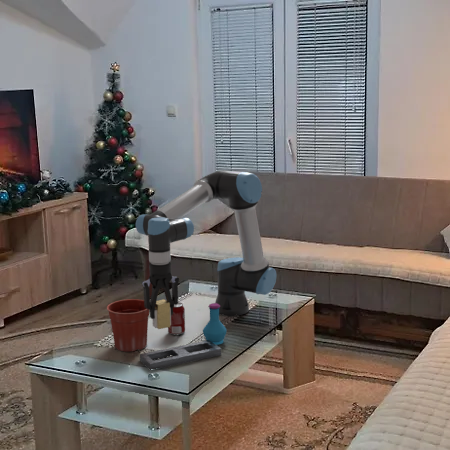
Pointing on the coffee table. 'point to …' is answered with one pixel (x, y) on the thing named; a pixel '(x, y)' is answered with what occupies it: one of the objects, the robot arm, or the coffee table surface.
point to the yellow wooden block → (163, 314)
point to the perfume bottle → (214, 326)
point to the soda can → (177, 320)
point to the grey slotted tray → (180, 354)
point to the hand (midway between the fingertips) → (161, 325)
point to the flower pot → (129, 324)
